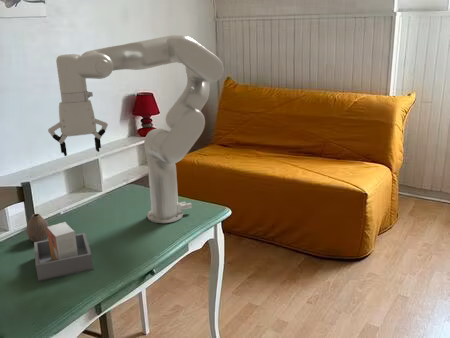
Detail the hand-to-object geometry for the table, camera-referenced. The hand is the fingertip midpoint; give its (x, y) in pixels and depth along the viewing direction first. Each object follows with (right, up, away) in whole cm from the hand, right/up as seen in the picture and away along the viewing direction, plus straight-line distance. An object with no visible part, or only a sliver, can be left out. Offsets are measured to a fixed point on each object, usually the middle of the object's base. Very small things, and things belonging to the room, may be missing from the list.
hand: (81, 152), depth 142 cm
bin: (-3, -33, -8) cm, 34 cm away
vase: (-16, -28, +7) cm, 33 cm away
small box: (-2, -32, -8) cm, 33 cm away
